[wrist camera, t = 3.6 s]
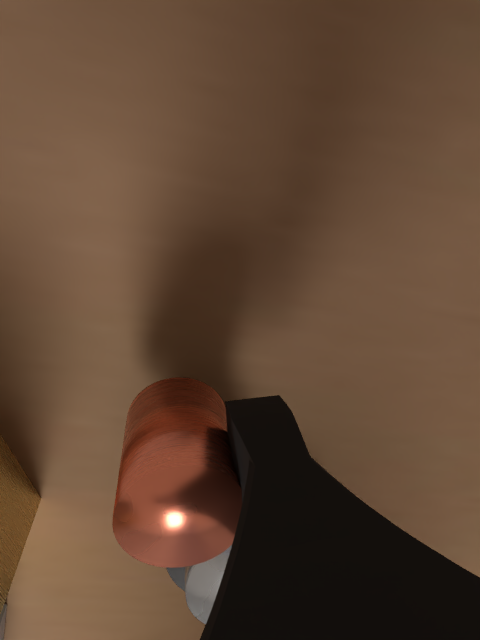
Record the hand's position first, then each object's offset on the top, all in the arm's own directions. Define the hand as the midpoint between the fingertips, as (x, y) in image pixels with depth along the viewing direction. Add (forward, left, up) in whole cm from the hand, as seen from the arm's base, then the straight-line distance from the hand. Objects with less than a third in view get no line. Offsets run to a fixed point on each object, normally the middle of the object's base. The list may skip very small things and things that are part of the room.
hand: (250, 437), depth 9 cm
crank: (-4, 0, -2) cm, 4 cm away
